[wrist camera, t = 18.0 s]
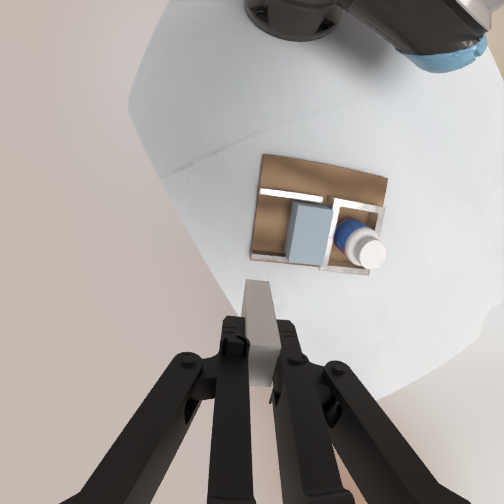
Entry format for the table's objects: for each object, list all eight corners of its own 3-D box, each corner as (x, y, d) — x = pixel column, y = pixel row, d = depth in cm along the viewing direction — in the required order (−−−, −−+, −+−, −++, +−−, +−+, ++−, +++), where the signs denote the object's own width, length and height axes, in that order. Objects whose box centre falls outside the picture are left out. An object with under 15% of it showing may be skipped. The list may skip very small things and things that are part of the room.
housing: (292, 199, 39) (298, 204, 35) (324, 204, 39) (333, 210, 35) (283, 251, 41) (288, 262, 37) (314, 254, 42) (322, 265, 38)
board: (263, 154, 38) (264, 154, 36) (384, 177, 39) (387, 178, 38) (250, 257, 43) (250, 259, 42) (364, 268, 44) (367, 271, 43)
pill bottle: (324, 238, 41) (345, 262, 32) (342, 209, 40) (369, 225, 30) (349, 255, 42) (374, 281, 33) (367, 227, 41) (397, 247, 31)
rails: (259, 187, 38) (260, 188, 37) (320, 195, 39) (323, 197, 37) (251, 255, 42) (251, 258, 40) (307, 260, 42) (310, 264, 41)
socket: (328, 195, 39) (334, 198, 36) (376, 204, 39) (385, 207, 36) (314, 263, 42) (319, 271, 40) (361, 268, 43) (368, 275, 40)
